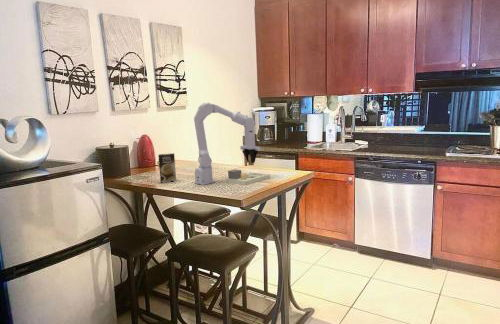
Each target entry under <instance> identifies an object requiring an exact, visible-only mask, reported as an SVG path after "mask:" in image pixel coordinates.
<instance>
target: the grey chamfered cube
mask: <svg viewBox="0 0 500 324" xmlns="http://www.w3.org/2000/svg"><path fill="white" fill-rule="evenodd" d="M241 173H242V170H241V169H230V170H227V175H228V177H227V178H229V179H238V178H241Z"/></svg>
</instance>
